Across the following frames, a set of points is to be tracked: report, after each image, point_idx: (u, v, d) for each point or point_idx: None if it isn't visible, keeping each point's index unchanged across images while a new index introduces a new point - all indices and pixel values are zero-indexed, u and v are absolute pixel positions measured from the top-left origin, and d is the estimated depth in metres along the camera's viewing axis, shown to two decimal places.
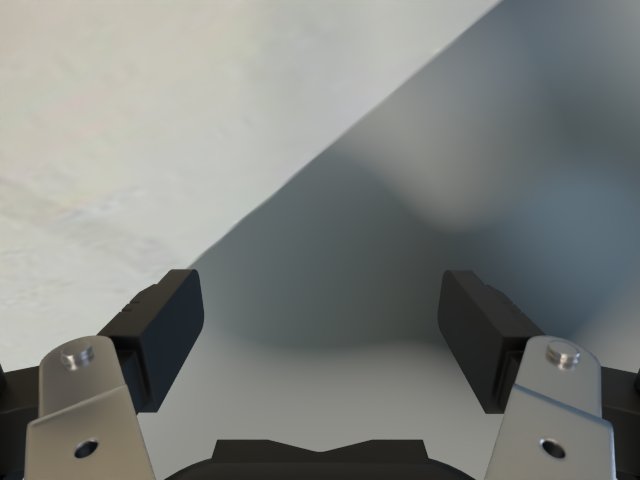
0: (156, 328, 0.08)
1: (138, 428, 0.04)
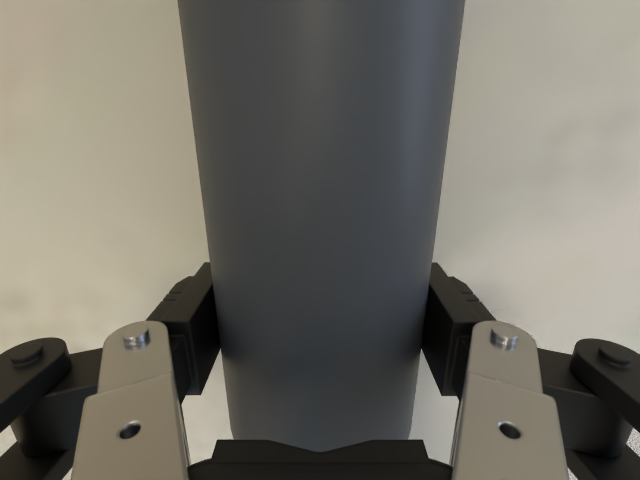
0: (200, 315, 0.09)
1: (177, 418, 0.05)
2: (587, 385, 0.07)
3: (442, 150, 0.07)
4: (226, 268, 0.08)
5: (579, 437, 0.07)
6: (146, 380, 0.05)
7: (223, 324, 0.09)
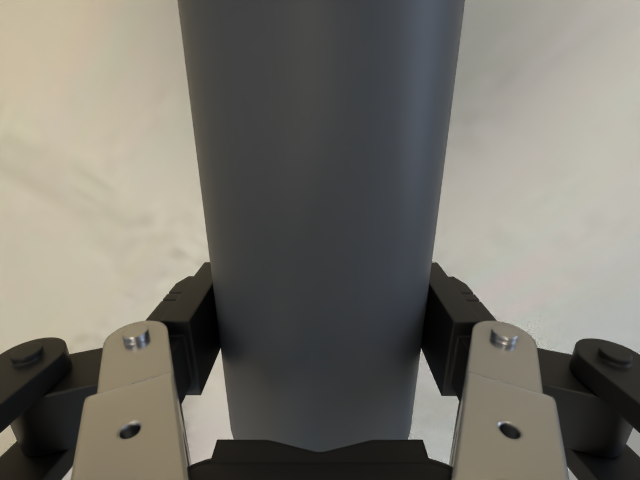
0: (200, 315, 0.09)
1: (177, 417, 0.05)
2: (586, 384, 0.07)
3: (442, 151, 0.07)
4: (226, 268, 0.08)
5: (579, 437, 0.07)
6: (146, 380, 0.05)
7: (223, 324, 0.09)
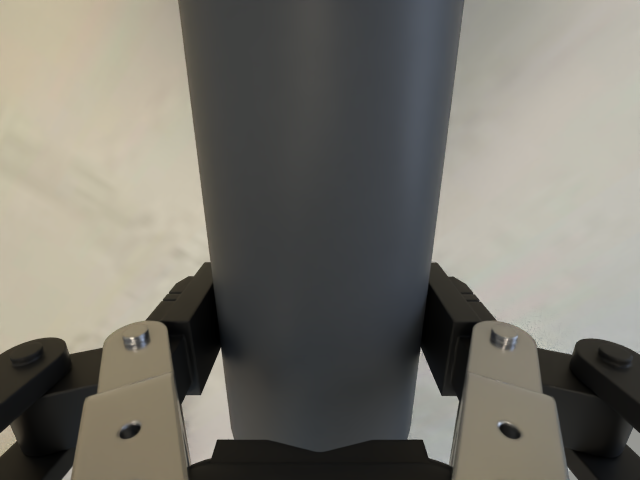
0: (200, 315, 0.09)
1: (177, 418, 0.05)
2: (586, 385, 0.07)
3: (441, 151, 0.07)
4: (226, 268, 0.08)
5: (579, 437, 0.07)
6: (146, 380, 0.05)
7: (224, 324, 0.09)
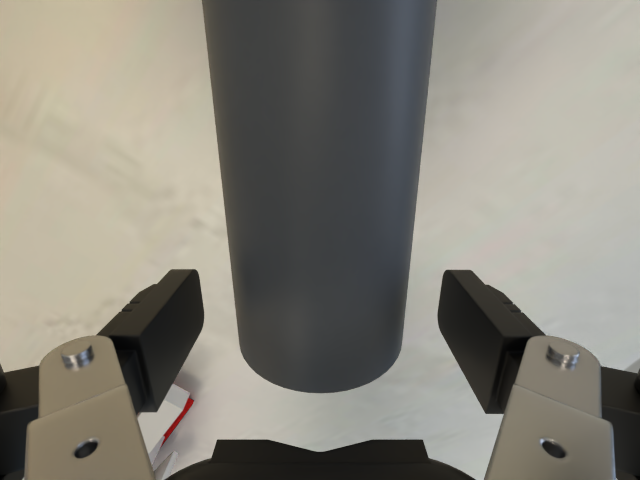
0: (156, 328, 0.08)
1: (138, 428, 0.04)
2: None
3: (423, 82, 0.09)
4: (239, 188, 0.09)
5: None
6: (97, 396, 0.05)
7: (235, 244, 0.10)
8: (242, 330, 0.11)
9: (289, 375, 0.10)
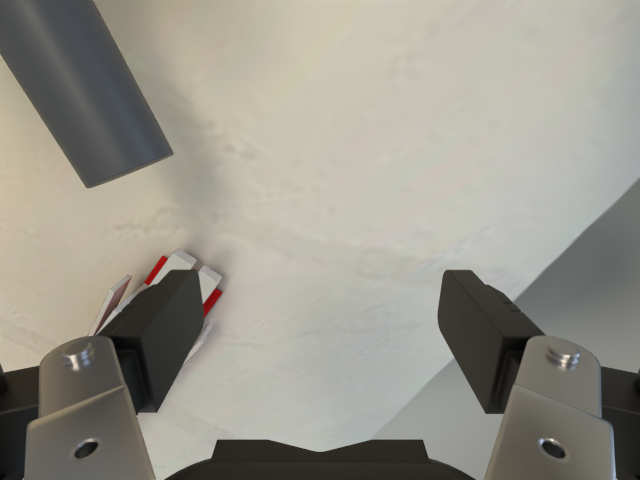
0: (156, 328, 0.08)
1: (138, 428, 0.04)
2: None
3: (74, 15, 0.19)
4: (26, 92, 0.20)
5: None
6: (97, 396, 0.05)
7: (45, 123, 0.21)
8: (75, 170, 0.23)
9: (90, 175, 0.21)
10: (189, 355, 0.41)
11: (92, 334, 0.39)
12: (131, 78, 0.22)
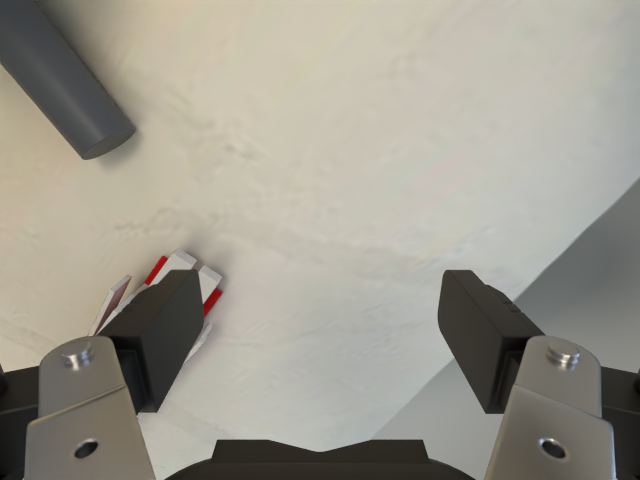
0: (156, 328, 0.08)
1: (138, 428, 0.04)
2: None
3: (54, 51, 0.33)
4: (36, 103, 0.34)
5: None
6: (97, 396, 0.05)
7: (50, 121, 0.35)
8: None
9: (81, 147, 0.35)
10: (189, 355, 0.41)
11: (92, 334, 0.39)
12: (96, 83, 0.35)
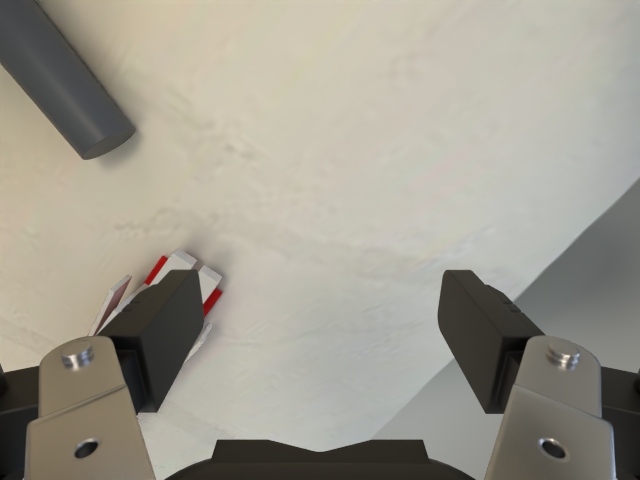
0: (156, 328, 0.08)
1: (138, 428, 0.04)
2: None
3: (54, 51, 0.33)
4: (36, 103, 0.34)
5: None
6: (97, 396, 0.05)
7: (50, 121, 0.35)
8: None
9: (81, 147, 0.35)
10: (189, 355, 0.41)
11: (92, 334, 0.39)
12: (96, 83, 0.35)
